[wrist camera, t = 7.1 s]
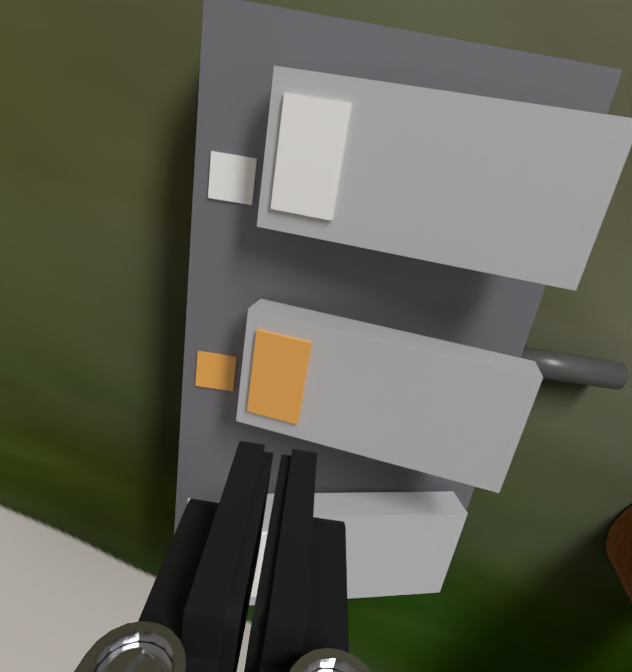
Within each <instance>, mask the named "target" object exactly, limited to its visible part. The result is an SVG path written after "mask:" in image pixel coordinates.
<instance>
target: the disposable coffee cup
mask: <svg viewBox="0 0 632 672" xmlns="http://www.w3.org/2000/svg"><path fill="white" fill-rule="evenodd" d="M606 549H607V555H608V557H609V560H610V561H611V563H612V565H613V567H614V569H615V571H616V573H617V574H618V576H619V578H620V580H621V582H622V584H623V586H624V589H625V591H626V593H627V594H628V596H629V598H630V600H631V602H632V506H630V507H629V508H628V509H626V510H625V511H624V512H623V513H622V514H621V515H620V516H619V517H618V518H617V519H616V520H615V522H614V523H613V525H612V526H611V528H610V531H609V533H608V535H607V540H606Z"/></svg>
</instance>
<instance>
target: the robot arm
mask: <svg viewBox="0 0 632 672" xmlns="http://www.w3.org/2000/svg"><path fill="white" fill-rule="evenodd" d="M264 450H265V444H258V443H252V442H245V441H240V442H239V444H238V447H237V450H236V453H235V456H234V459H233V462H232V465H231V468H230V472H229V475H228V478H227V481H226V484H225V487H224V490H223V493H222V496H221V499H220V502H219V503H218V502H211V501H204V500H198V499H190V500H189V501H188V503H187V506H186V508H185V510H184V512H183V515H182V517H181V520H180V522H179V525H178V527H177V529H176V532H175V534H174V537H173V539H172V541H171V544H170V546H169V549H168V551H167V553H166V556H165V558H164V561H163V563H162V565H161V568H160V570H159V573H158V575H157V578H156V580H155V582H154V585H153V587H152V590H151V592H150V594H149V597H148V599H147V602H146V604H145V606H144V609H143V611H142V614H141V616H140V618H139V621H138V622H134V623H127V624H125V625H123V626H120V627H118V628H116V629H113V630H111V631H110V632H108V633H107V634H106V635H104V636H103V637H102V638H100V639H99V640H98V641H97V642H96V643H95V644H94V645H93V646H92V648H91V649H90V650H89V651H88V652H87V653H86V655H85V656H84V657H83V659H82V660H81V662H80V664H79V665H78V667H77V668H76V670H75V671H74V672H236V671H237V666H238V661H239V656H240V650H241V645H242V640H243V634H244V629H245V624H246V618H247V613H248V608H249V603H250V597H251V592H252V587H253V581H254V576H255V571H256V566H257V560H258V554H259V548H260V542H261V535H262V528H263V521H264V515H265V508H266V501H267V494H268V488H269V481H270V474H271V467H272V461H273V453H271V452H265V451H264ZM316 464H317V453H316V452H310V451H303V450H297V449H292V454H291V455H284V454H281V459H280V465H279V471H278V476H277V482H276V488H275V493H274V499H273V505H272V510H271V516H270V522H269V527H268V533H267V539H266V544H265V550H264V556H263V561H262V567H261V573H260V578H259V584H258V590H257V595H256V601H255V607H254V613H253V619H252V625H251V631H250V637H249V644H248V651H247V657H246V664H245V670H244V672H371V671H370V670H369V668H368V667H367V666H366V665H365V664H363V663H362V662H361V661H360V660H359V659H358V658H357V657H355V656H353V655H351V654H349V642H348V602H347V563H346V528H345V522H343V521H336V520H330V519H323V518H317V517H313V514H314V497H315V481H316Z"/></svg>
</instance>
